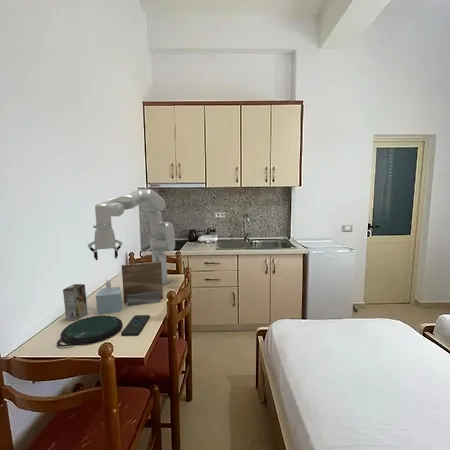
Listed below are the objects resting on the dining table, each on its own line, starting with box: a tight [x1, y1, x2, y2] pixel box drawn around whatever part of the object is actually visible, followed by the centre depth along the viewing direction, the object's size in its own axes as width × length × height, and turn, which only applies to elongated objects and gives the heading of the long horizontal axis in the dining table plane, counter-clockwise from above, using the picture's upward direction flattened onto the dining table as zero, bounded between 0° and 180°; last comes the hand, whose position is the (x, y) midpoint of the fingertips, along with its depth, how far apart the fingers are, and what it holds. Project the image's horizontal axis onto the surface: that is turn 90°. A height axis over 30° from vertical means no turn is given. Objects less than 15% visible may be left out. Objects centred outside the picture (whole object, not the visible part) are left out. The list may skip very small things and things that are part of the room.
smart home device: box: [120, 314, 151, 337], centre depth 149 cm, size 8×2×20 cm
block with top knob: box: [95, 279, 123, 315], centre depth 170 cm, size 12×12×16 cm
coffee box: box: [62, 283, 88, 321], centre depth 161 cm, size 9×6×16 cm
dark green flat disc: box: [56, 315, 123, 348], centre depth 143 cm, size 26×3×30 cm
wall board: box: [121, 262, 164, 307], centre depth 178 cm, size 7×22×22 cm, turn 106°
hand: (106, 258), depth 166 cm, fingers open, 9 cm apart
